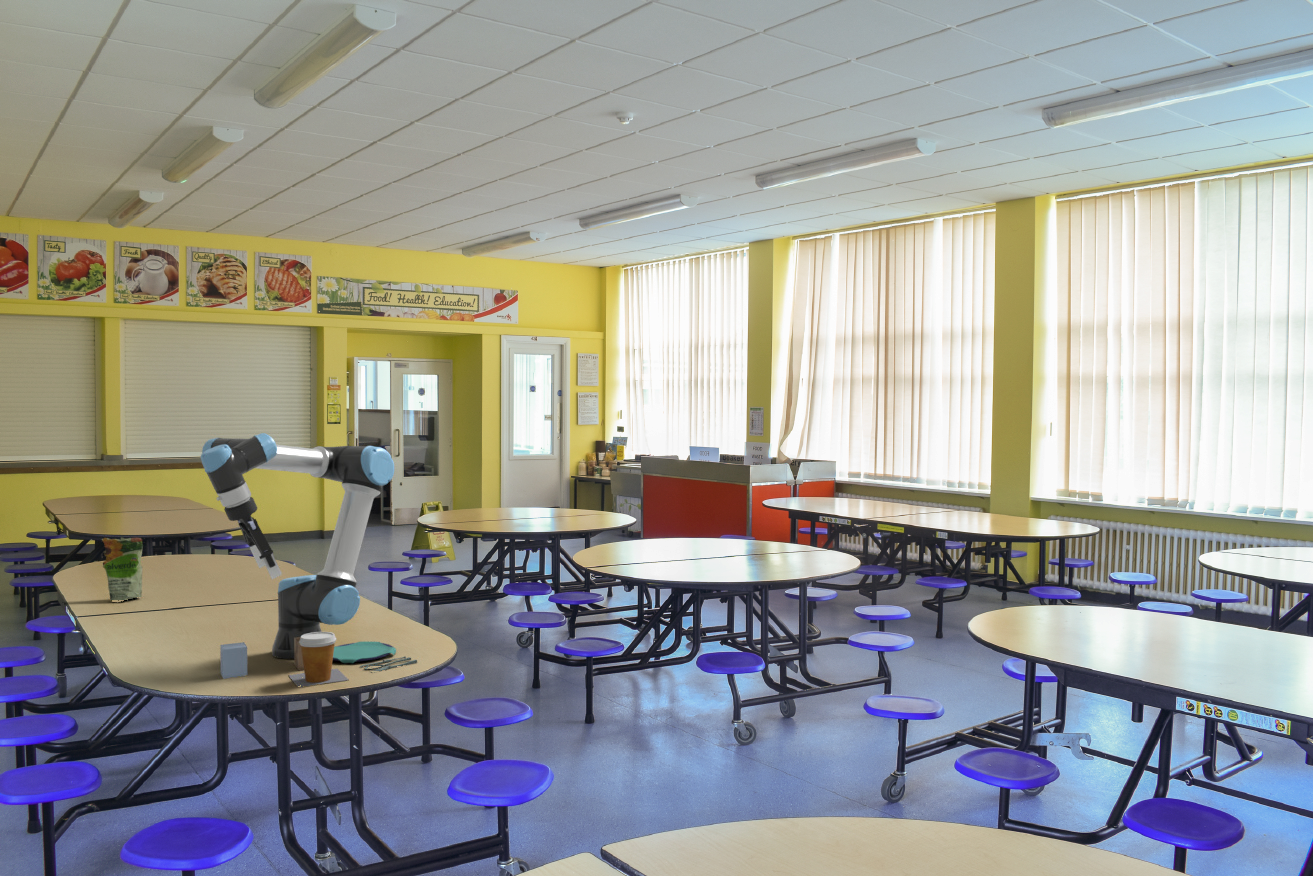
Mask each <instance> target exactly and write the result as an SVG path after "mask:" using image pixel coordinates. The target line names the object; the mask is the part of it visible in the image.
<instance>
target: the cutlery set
mask: <svg viewBox="0 0 1313 876" xmlns="http://www.w3.org/2000/svg"><path fill="white" fill-rule="evenodd" d="M396 653H397V649H396V647H394V646H392V645H391V644H389V643H384V642H380V641H375V640H374V641H368V640H367V641H357V642H351V643H344V644H341V645H337V646H335V645H334V653H333V661H338V662H341V663H342V664H354V663H355V662H367V661H373V660H378V659H382V658H384V657H387V656H388V655H391V654H392V655H394V656H395V655H396ZM391 661H392V662H391ZM406 661H407V662H406ZM385 662H386V663H385ZM401 662H404V663H401ZM379 663H380V664H379ZM397 663H400V664H397ZM373 664H375V665H373ZM393 664H394V665H393ZM413 664H418V660H417V659H413V660H412V657H411V656H410V657H406V655H405V656H402V657H398V658H391V659H388V658H386V659H382V661H376V662H371V663H366V664H362V665H360V666H359V668H360V667H361V668H363V669H365V670H368V669H369V670H368V671H379V672H383V671H382V670H385V671H388V670H391V669H392V668H393V669H394V668H398V667H397V666H401V667H404V666H403V665H406V666H409V665H413ZM368 665H371V666H381V667H371V668H368V667H370V666H368ZM385 665H386V666H385ZM363 666H366V667H363ZM382 666H383V667H382ZM367 668H368V669H367ZM378 668H379V669H378ZM372 669H374V670H372ZM387 669H388V670H387Z"/></svg>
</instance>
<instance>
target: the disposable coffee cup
mask: <svg viewBox="0 0 1313 876" xmlns="http://www.w3.org/2000/svg"><path fill="white" fill-rule="evenodd" d="M336 642H337V637H336V635H335V633H334V632H330V631H322V632H313V633H307V634H304V635H302V636H301V638H300V641H299V643H300V645H301V650H302V658H303V665H304V671H303V673H305V680H306V682H310V683H318V682H324V681H328V680H329V679H330V677H331V669H333V667H332V666H333V661H334V660H333V653H334V647H335V643H336Z"/></svg>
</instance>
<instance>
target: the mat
mask: <svg viewBox="0 0 1313 876" xmlns="http://www.w3.org/2000/svg"><path fill="white" fill-rule="evenodd" d="M288 677H289V678H290V680H291V679H292V680H291V681H292V682H293V683H294V685H295V684H296V685H297V686H300V685H301V687H300V688H304V687H303V686H307V687H311V686H310V685H314V686H317V685H316V684H320V685H325V684H324V683H327V684H333V682H334V683H339V682H346V681H347V680H348V681H349V678H348V677H347V676H345V675H344V673H343V672H341V670H340V669H339V668H332V669H331V677H330V679H329V680H328V681H324V682H318V683H310V682H306V680H305V672H302V673H296V674H289V676H288ZM302 677H303V678H302ZM348 681H347V682H348ZM296 685H295V686H296ZM297 686H296V687H297Z"/></svg>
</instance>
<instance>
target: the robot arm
mask: <svg viewBox="0 0 1313 876" xmlns="http://www.w3.org/2000/svg"><path fill="white" fill-rule="evenodd" d="M200 461H201V464H202V466H203V469H204V472H205V473H206V474H207V478H208V479H209V481H210V482H211V485H212V487H213V489H214V491H215V493H216V495H217V497H216V501H218V502H219V501H220V504H221V506H222V507H224V509H223V510H224V513H225V514H226V517H227V518H228V520H229V521H232V522H234V521H235V522H236V521H237V523H238V527H240V530H241V533H242V535H243V539H244V542H245V543H246V544H247V546H248V547H249V550H250V552H251V553H252V556H253V558H254V560H255V563H256V564H257V567H258V568H259V569H261V568H263V567H265V568H266V570H267V572H268V575H269V576H270V579H271V580H274V579H276V578H278V577H280V576H282V575H283V573H282V571H281V569H280V567H279V565H278V562H277V560H276V558H275V556H274V550H273V549H272V548H271V546H270V544H269V542H268V540H267V538H266V537H265V535H264V533H263V532H262V529H261V527H260V526H259V523H258V521H257V519H256V518H254V516H253V517H252V515H253V514H255V513H256V512H257V510H258V506H257V504H256V502H255V499H254V497H252V492H251V490H250V488H249V486H248V483H247V482H246V480H245V478H244V476H243V475H244V474H246V473H248V472H251V471H252V470H253V469H258V470H259V469H261V470H270V471H281V472H282V471H283V472H290V473H291V472H292V473H301V474H310V476H312V477H313V478H318V479H319V478H320V479H326V480H331V481H334V482H338V483H339V482H340V483H341V487H342V488H343V490H344V494H343V498H342V501H341V504H340V509H339V513H338V516H337V520H336V524H335V528H334V530H333V533H332V534H333V535H332V537H331V541H330V546H329V549H328V552H327V557H326V560H325V563H324V567H323V569H322V570H320V571H319V572H317V573H316V574H309V575H308V574H307V575H301V576H293V577H287V578H283V579H281V580H280V581H279V582H278V587H277V588H278V589H277V601H278V602H277V606H278V607H277V611H278V612H277V613H278V625H277V626H278V628H277V632H276V635H275V638H274V642H273V645H272V648H271V649H272V650H271V651H272V652H271V655H272V656H273V657H274V658H277V659H286V660H290V659H292V660H293V659H294V638H297V637H301V636H302V635H304V634H307V633H313V632H323V630H322V628H321V624H324V625H328V626H332V625H335V626H337V625H344V624H346V623H348V621H350V620H352V619H353V618H354V617H355V615H356V614H357V613H358V609H359V608H360V603H361V597H360V595H359V594H360V593H359V591H358V590H357V589H358V588H356V587H357V580H356V578H355V576H354V573H355V569H356V566H357V562H358V559H359V556H360V552H361V548H362V544H363V541H364V537H365V534H366V533H365V532H366V528H367V525H368V521H369V517H370V514H371V510H372V507H373V502H374V499H375V498H376V497H378V496H379V495H380V494H381V493H382V489H383V486H385V485H387V484H388V483H389V482H391V480H393V478H394V474H395V463H394V459H393V458H392V455H391V454H390V452H388V450H386V449H385V448H382V447H380V446H373V445H367V446H365V445H342V446H341V445H340V446H320V445H318V446H315V447H313V448H307V447H300V446H293V445H292V446H291V445H285V444H276V441H275V440H274V438H273V437H272V436H270V435H269V434H267V433H264V432H261V433H259V434H254V435H253V436H252V437H250V438H226V437H215V438H214V437H213V438H210V439H208V440H206V441H205V443H204V444H203V446H202V450H201V454H200Z"/></svg>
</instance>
